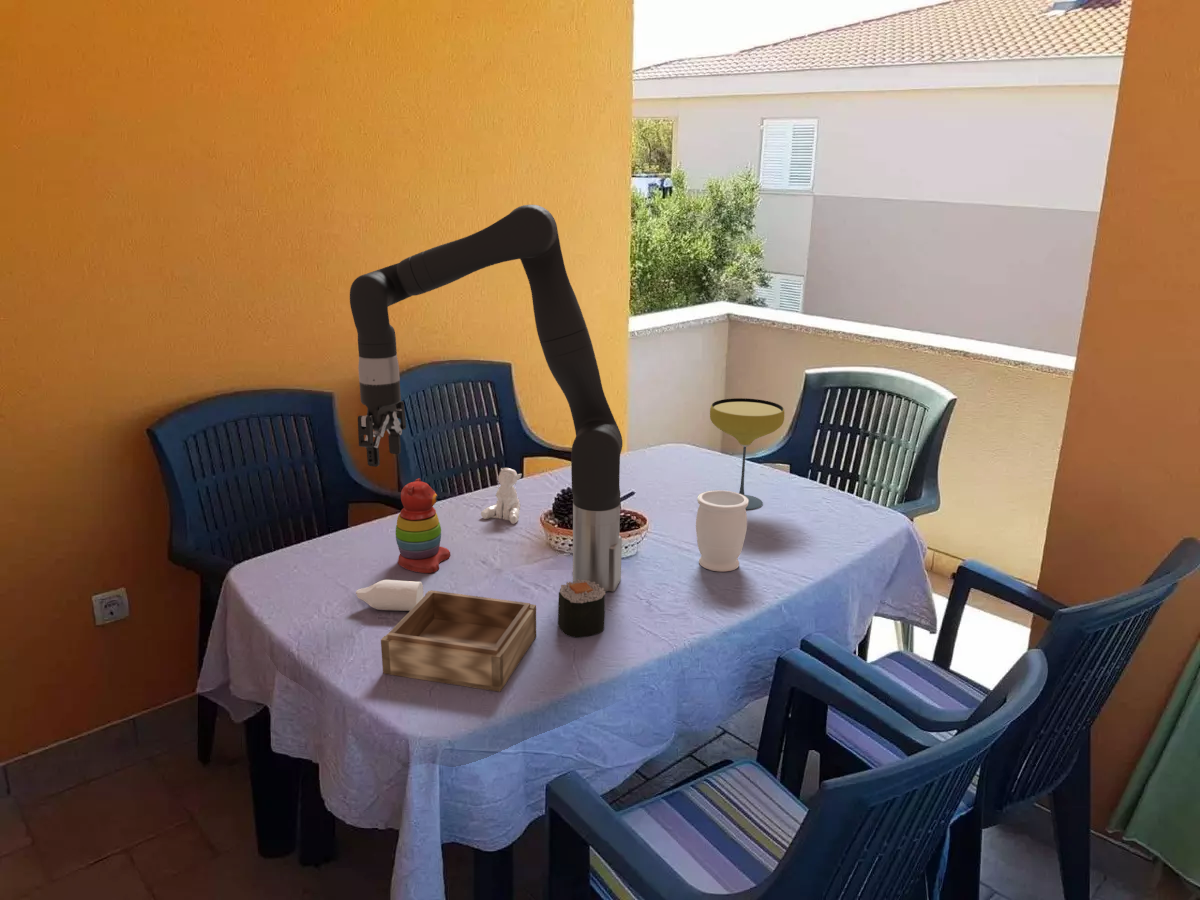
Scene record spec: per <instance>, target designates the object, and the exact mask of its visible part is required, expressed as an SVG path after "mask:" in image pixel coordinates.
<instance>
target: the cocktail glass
mask: <svg viewBox="0 0 1200 900" xmlns="http://www.w3.org/2000/svg"><path fill="white" fill-rule="evenodd" d="M709 419H710V421H711V423H712V424H713V426H715V427H716V428H717V429H719V430H721V432H724V433H725V434H727V435H730V436H731V437H733V438H734V439H736V441H737V442H738V443H739V444H740V446H742V448H743V449H742V465H741V466H742V467H741V478H740V480H741V481H740V486H739V487H740V488H739V492H738V493H739V494H742V495H744V496H746V497H747V498H748V500H749V501H748V506H747V507H746V508H745V509H746V511H752V510H757V509H759V507H760V508H761V507H762V506H763V504H764V503H763V501H762V499H760V498H758V497H756V496H753V495H750V494H745V469H746V467H745V465H746V453H747V451H746V450H747V447H749V446H750V445H751V444H752V443H753V442H755V440H757V439H759V438H761V437H764V436H767V435H769V434H772V433H774V432H776V431H777V430H778V429H780V428H781V427H782V425H783V424H784V421H785V409H784V407H783V406H782V405H780V404H778V403H776V402H773V401H770V400H763V399H759V398H745V397H744V398H742V397H738V398H734V397H733V398H725V399H721V400H716V401H714V402H712V403H711V406H710V409H709Z"/></svg>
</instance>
